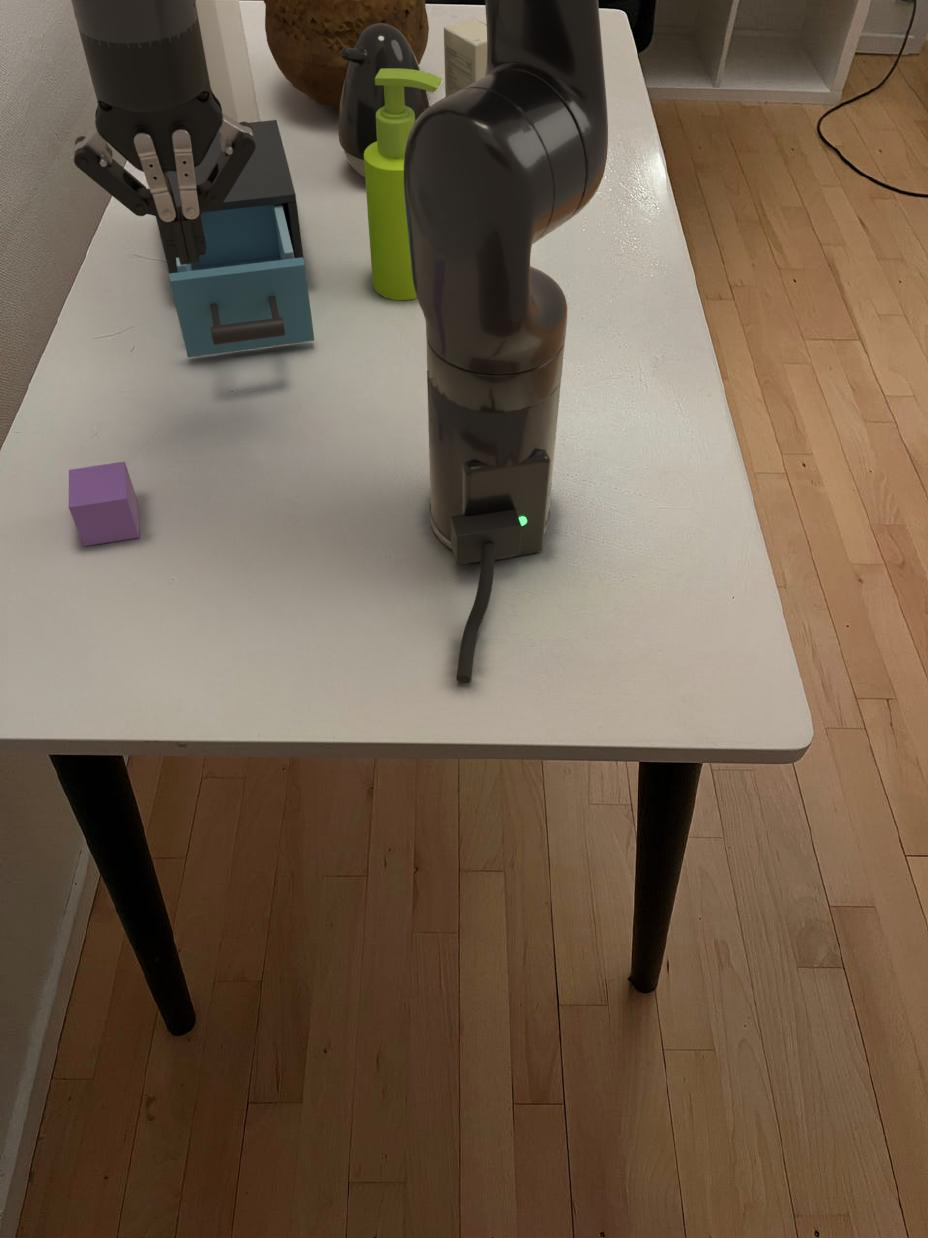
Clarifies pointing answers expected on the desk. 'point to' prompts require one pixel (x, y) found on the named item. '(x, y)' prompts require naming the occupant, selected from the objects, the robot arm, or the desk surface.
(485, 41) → the cosmetic box
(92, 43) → the robot arm
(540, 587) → the desk surface
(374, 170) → the soap dispenser
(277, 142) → the dark grey box
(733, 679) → the desk surface
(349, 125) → the black penguin figurine
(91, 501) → the lilac foam cube
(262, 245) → the drawer
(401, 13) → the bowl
